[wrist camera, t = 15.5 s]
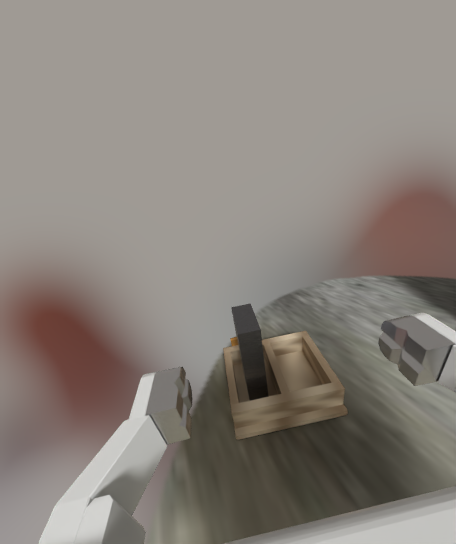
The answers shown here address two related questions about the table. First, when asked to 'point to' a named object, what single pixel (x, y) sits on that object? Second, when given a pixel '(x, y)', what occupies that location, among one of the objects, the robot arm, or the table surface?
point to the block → (250, 351)
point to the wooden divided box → (284, 387)
